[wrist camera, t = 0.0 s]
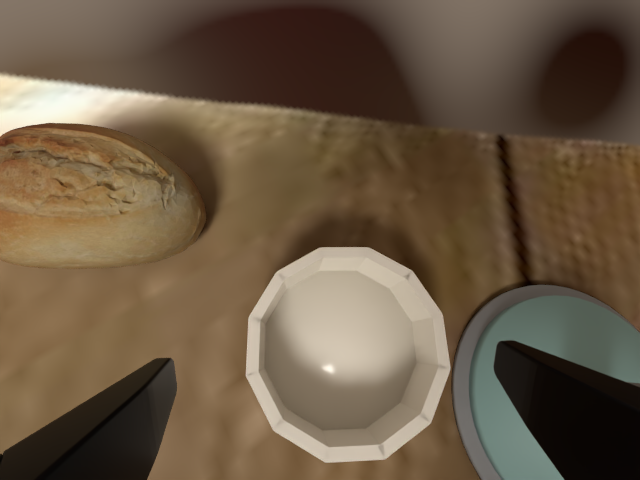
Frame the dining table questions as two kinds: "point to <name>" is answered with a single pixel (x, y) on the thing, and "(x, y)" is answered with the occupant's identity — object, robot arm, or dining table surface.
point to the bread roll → (92, 199)
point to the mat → (465, 357)
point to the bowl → (347, 354)
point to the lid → (554, 338)
